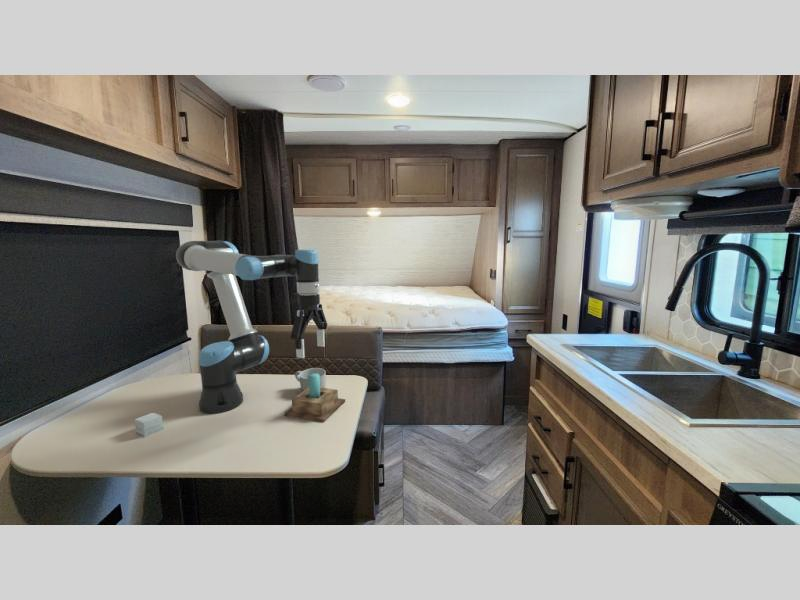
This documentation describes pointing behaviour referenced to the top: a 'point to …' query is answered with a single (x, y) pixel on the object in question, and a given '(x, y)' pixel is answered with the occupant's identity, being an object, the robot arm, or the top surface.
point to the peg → (314, 385)
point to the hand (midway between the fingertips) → (311, 351)
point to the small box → (148, 424)
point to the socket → (315, 405)
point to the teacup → (304, 374)
